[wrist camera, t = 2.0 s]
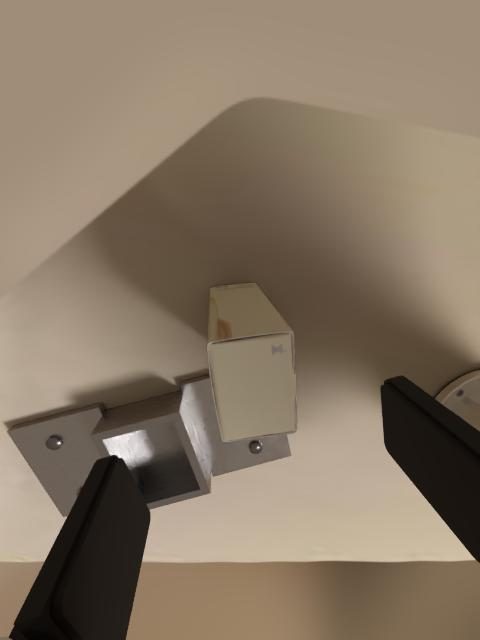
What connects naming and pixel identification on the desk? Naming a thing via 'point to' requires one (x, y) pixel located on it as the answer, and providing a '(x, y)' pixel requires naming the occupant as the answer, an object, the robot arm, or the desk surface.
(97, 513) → the robot arm
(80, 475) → the hinge base
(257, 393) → the skincare box
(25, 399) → the desk surface
